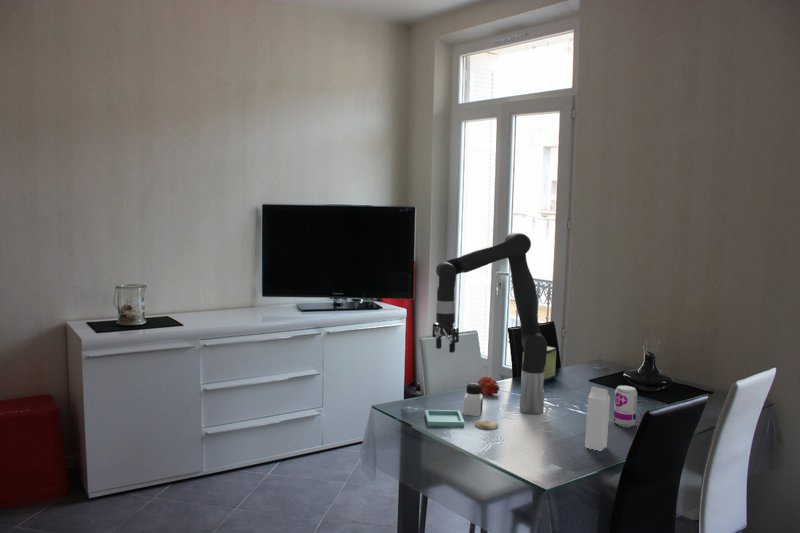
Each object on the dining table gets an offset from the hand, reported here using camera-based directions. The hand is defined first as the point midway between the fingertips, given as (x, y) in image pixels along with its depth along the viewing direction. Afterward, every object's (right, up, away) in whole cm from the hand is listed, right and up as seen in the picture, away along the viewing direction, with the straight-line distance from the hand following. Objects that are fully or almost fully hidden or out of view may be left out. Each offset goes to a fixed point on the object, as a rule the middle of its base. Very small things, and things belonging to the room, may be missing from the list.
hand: (445, 350), depth 271 cm
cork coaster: (+15, -28, -13) cm, 34 cm away
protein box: (+50, -21, +56) cm, 78 cm away
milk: (+52, -31, -33) cm, 69 cm away
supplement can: (+71, -29, -7) cm, 77 cm away
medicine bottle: (+12, -26, +1) cm, 29 cm away
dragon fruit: (+21, -24, +28) cm, 42 cm away
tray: (-1, -27, -9) cm, 28 cm away
